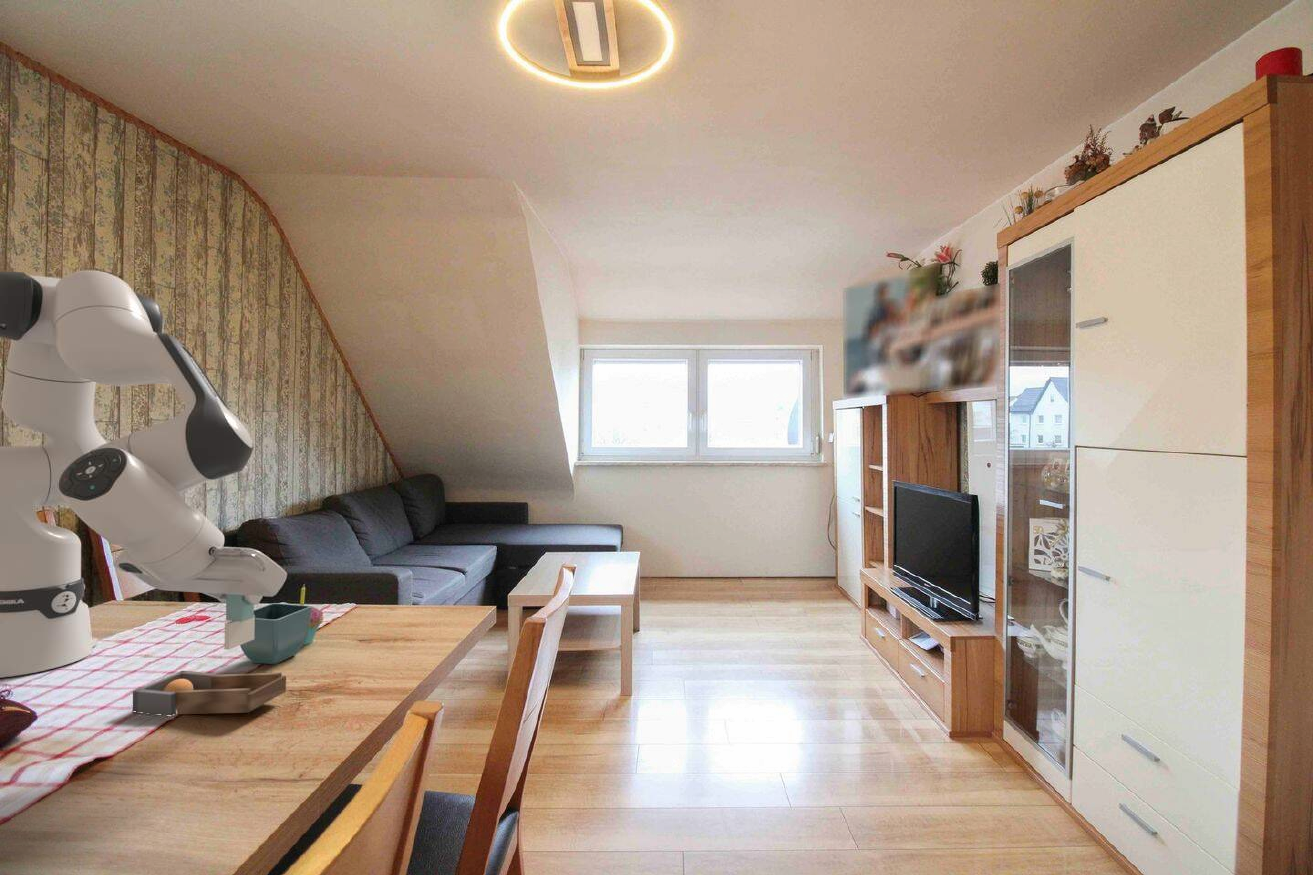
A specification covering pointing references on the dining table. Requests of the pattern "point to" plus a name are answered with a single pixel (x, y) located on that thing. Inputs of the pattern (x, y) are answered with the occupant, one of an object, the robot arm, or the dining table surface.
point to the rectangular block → (238, 621)
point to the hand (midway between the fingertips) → (243, 599)
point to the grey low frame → (167, 693)
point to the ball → (179, 685)
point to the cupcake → (312, 619)
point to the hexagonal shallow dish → (232, 694)
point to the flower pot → (277, 632)
